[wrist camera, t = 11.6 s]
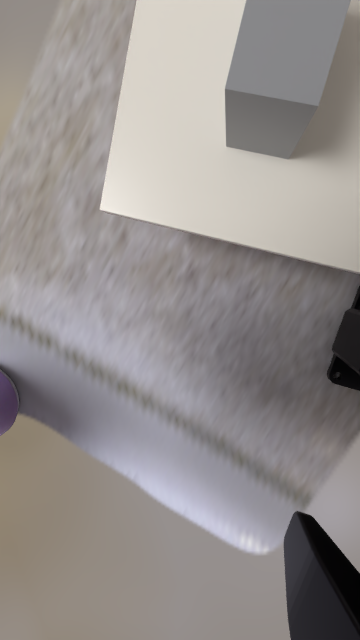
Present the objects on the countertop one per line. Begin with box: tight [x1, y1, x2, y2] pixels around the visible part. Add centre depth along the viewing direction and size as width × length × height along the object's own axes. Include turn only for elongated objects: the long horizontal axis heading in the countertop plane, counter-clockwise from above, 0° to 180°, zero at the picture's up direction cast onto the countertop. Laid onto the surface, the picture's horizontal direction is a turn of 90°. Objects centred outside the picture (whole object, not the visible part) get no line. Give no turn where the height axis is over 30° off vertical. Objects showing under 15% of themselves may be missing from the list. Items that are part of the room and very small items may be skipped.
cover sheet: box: [100, 0, 360, 274], centre depth 10 cm, size 12×12×5 cm
